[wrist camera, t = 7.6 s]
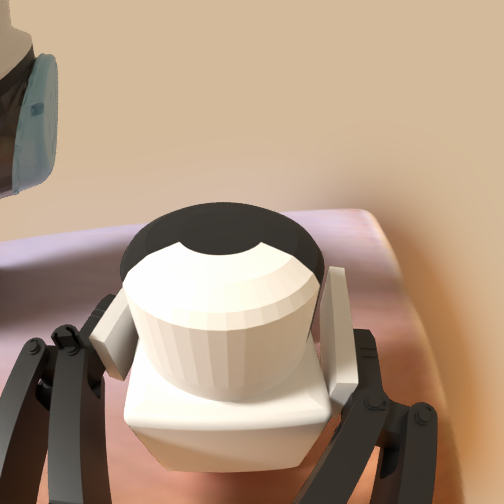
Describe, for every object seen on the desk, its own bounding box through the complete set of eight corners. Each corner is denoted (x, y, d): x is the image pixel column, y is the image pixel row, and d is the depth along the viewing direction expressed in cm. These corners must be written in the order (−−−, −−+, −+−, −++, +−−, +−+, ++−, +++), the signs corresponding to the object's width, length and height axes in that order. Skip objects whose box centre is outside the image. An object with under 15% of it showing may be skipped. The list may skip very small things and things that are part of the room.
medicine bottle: (171, 368, 18) (133, 187, 11) (282, 365, 18) (312, 185, 12) (163, 471, 12) (54, 319, 5) (300, 468, 12) (392, 314, 6)
